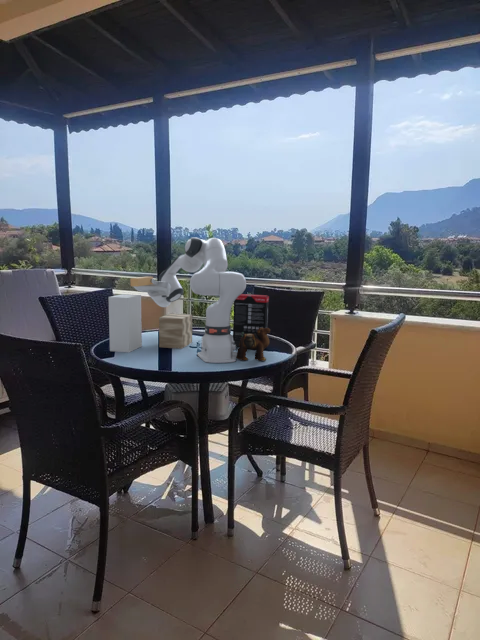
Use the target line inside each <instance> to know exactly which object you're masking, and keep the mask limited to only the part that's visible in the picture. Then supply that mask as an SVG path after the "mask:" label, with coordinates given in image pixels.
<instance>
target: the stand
mask: <svg viewBox="0 0 480 640" xmlns="http://www.w3.org/2000/svg"><path fill="white" fill-rule="evenodd" d="M142 324H143V323H142V295H141V294H125V293H122V294H117V295H112V296H108V325H109V326H108V329H109V335H108V336H109V351H110V352H119V353H131V352H133V351H135V350H138V349H139V348H141V347H143V344H142V343H143V336H142V335H143V333H142V331H143V330H142V328H143V327H142Z"/></svg>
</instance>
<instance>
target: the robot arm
mask: <svg viewBox="0 0 480 640" xmlns="http://www.w3.org/2000/svg"><path fill="white" fill-rule="evenodd" d="M225 248H226V247H225V246H224V244H223V241H222V240H221V239H219V238H218V237H210V238H208V239H207V240H204V239H200V237H196V236H195V237H194V236H193V237H189V238H188V240H187V242H186V243H185V246H184V254H180V255H178V256H177V257H176V258H174V260H173V261H172V262H171V263H170V264H169V265H168V267H167V268H166V269H165V270H163V271H162V272H161V273H160V274H159V277H158V281H157V280H155V279H154V278H153V279H150V282H151V283H153V284H151V285H144V286H138V287H137V286H132V287H133V288H134V289H135V290H136V291H138V292H142V293H147V295H148V296H149V297H150V298H151V299H152V301H153V302H154V303H155V304H156V306H159V307H161V308H167V307H169V306H170V305H171V303H173V302H176V301H178V300H180V299H181V297H182V296H183V294H184V289H183V287H182V284H181V283H180V282H179V280H178V278H177V273H178V271H179V270H180V269H182V270H183V271H185V272H187V273H193V274H191V275H192V276H190V277H191V278H190V281H189V287H190V289H191V291H192V293H194V294H195V295H201V296H217V297H218V296H219V298H218V300H217V301H215V302H213V303H212V304H209V305H208V306H207V308H206V310H205V325H204V335H203V336H202V337H201V348H200V351H199V352H197V353H196V354H197V356H198V357H199V358H200V359H201V360H202V361H203V362H204V363H210V364H211V363H216V364H218V363H219V364H220V363H221V364H222V363H225V364H226V363H235V362H236V361H237V358H236V357H237V351H236V348H237V347H236V345H233V344H234V341H233V335H231V332H232V331H231V330H232V328H231V324H230V322H231V311H232V307H233V305H234V301H235V299H236V298H237V297H238V296H239V295H241V294H244V291H245V290H246V287H247V280H246V278H245V275H244V274H243V273H241V272H236V271H227V268H228V266H229V264H228V258H227V252H226V251H227V250H226V249H225ZM202 266H203V267H202ZM201 267H202V268H201Z"/></svg>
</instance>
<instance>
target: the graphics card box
mask: <svg viewBox="0 0 480 640" xmlns="http://www.w3.org/2000/svg"><path fill="white" fill-rule="evenodd" d="M269 300H270V296H269V295H267V294H266V295H264V294H247V293H246V294H244V293H242V294H241V295H239V296H238V297H237V298H236V299H235V301H234V302H233V318H232V319H233V324H232V337H233V341H234V344H233V345H236V348H239V343H240V339H241V337H242V336H243V334H256V336H257V337H258V338H259V339H260V337H259V336H258V335H257V330H258V329H259V328H269V327H268V323H269V302H270V301H269ZM260 340H261V339H260ZM264 350H266V348H264V349H263V351H264Z"/></svg>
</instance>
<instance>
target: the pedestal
mask: <svg viewBox="0 0 480 640" xmlns="http://www.w3.org/2000/svg"><path fill="white" fill-rule="evenodd" d="M158 330H159V332H158V339H159V340H158V341H159V342H158V343H159V344H158V346H159V348H165V349H166V348H168V349H182V350H183V349H185V347H187V346H189V345H191V344H192V343H193V314H190V313H189V314H187V313H168V314H166V315H163V316H160V317H158Z"/></svg>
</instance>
